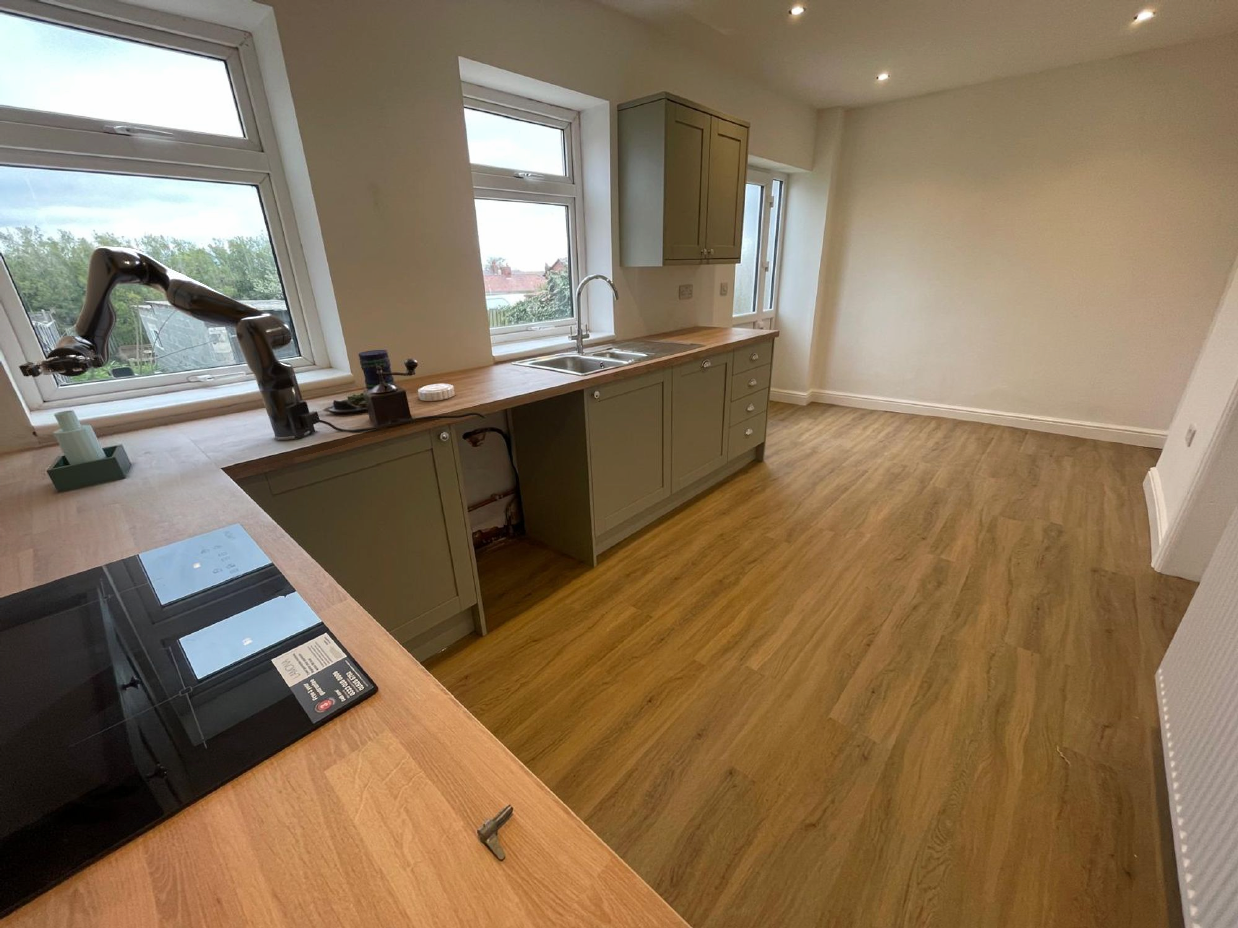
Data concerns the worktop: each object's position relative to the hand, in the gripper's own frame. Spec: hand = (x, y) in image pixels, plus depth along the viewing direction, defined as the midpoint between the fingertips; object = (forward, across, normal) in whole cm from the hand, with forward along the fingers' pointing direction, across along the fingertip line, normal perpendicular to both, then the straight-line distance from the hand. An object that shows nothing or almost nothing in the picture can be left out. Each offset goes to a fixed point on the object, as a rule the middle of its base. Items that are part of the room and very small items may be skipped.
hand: (57, 369), depth 120 cm
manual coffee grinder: (+16, +70, +25) cm, 76 cm away
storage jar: (-22, +74, +26) cm, 81 cm away
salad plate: (-6, +62, +25) cm, 67 cm away
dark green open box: (+11, 0, +25) cm, 27 cm away
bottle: (+11, 0, +24) cm, 27 cm away
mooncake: (0, +87, +26) cm, 91 cm away
